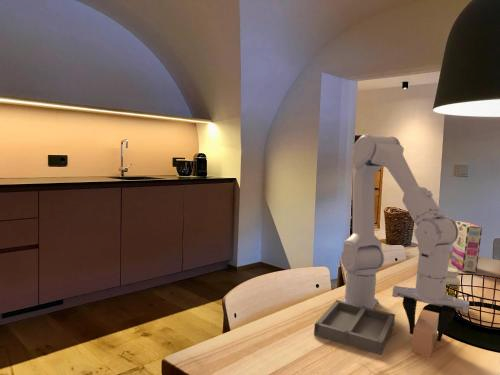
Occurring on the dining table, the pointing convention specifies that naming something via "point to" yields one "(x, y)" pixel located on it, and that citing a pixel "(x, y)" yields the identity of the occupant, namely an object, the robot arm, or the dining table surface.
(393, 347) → the dining table surface
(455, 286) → the supplement bottle
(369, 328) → the grey divided tray
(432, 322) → the tan rectangular block
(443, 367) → the dining table surface
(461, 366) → the dining table surface
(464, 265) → the candy bar box
